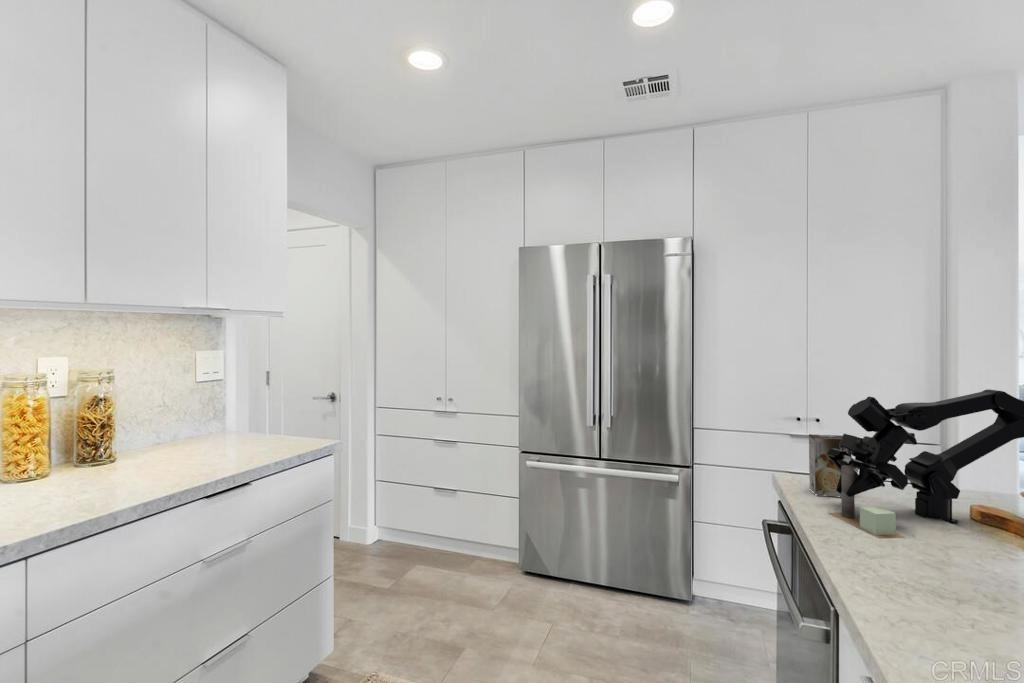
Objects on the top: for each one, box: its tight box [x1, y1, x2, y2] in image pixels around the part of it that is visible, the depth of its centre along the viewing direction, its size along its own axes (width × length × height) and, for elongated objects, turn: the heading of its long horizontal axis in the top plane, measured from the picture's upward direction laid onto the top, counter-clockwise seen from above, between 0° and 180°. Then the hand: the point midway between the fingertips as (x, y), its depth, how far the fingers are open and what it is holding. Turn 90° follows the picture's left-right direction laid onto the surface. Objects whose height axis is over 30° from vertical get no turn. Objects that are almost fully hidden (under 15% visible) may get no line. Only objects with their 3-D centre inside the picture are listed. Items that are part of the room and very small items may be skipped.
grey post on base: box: [827, 465, 906, 540], centre depth 118 cm, size 6×16×13 cm, turn 4°
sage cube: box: [859, 505, 897, 535], centre depth 115 cm, size 5×5×5 cm
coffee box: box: [808, 433, 852, 498], centre depth 144 cm, size 9×6×16 cm
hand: (842, 493), depth 123 cm, fingers closed on grey post on base, 3 cm apart
